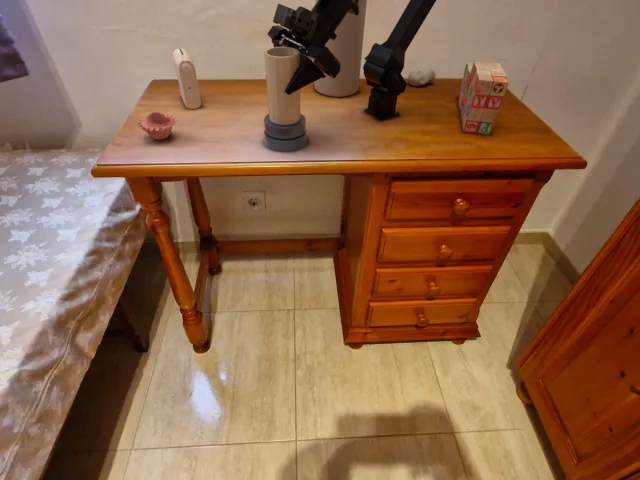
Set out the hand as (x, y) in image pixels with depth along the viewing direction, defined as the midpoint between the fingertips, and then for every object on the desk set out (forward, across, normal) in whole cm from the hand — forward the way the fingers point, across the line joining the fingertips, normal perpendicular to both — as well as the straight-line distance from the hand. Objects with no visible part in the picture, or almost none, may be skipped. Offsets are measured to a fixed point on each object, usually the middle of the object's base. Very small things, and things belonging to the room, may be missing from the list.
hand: (277, 87), depth 74 cm
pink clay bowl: (+24, -16, -6) cm, 29 cm away
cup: (+4, 0, +6) cm, 7 cm away
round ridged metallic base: (+8, 0, +10) cm, 12 cm away
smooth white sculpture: (-29, -9, +46) cm, 55 cm away
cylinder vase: (-12, -19, +29) cm, 37 cm away
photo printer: (+15, -31, +3) cm, 35 cm away
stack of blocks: (-26, +13, +43) cm, 52 cm away
